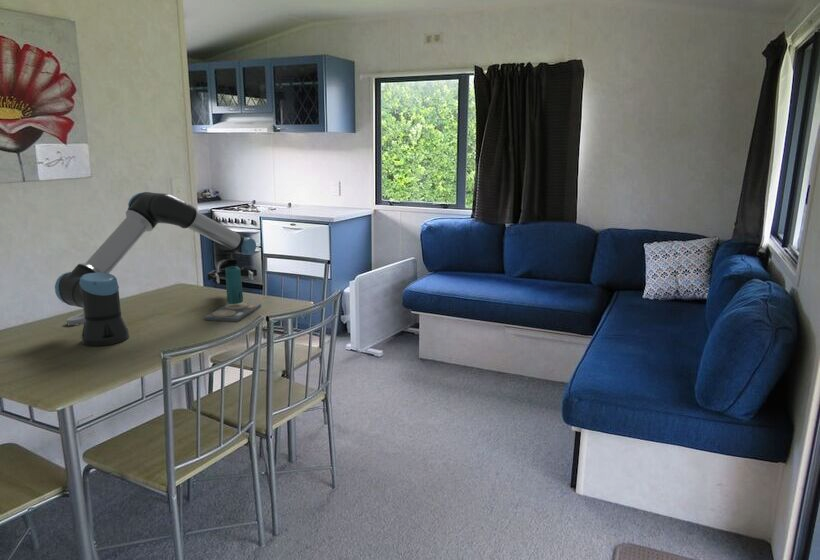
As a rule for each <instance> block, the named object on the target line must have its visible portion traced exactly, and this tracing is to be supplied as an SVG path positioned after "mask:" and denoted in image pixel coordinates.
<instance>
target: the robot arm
mask: <svg viewBox="0 0 820 560" xmlns="http://www.w3.org/2000/svg"><path fill="white" fill-rule="evenodd" d="M125 217H126V218H125V219H124V220H123V221H122V222H120V224H119V225H118V226H117V227H116V228H115V230H114V231H113V232H112V233H111V234H110V235H109V236H108V237H107V238H106V239H105V241H103V243H102V244H101V245H100V246H99V247H98V248H97V249H96V251H94V253H93V254H92V255H91V256H90V257H89V258H88V260H87V261H86V262H84V263H78V264H77V265H76V266H75V267H74V268H73V269H72V270H71V271H68V272H65V273H62V274H61V275H60V276H59V277H58V278H57V279H56V281H55V285H54V290H55V295H56V297H57V298H58V300H60V301H61V302H62V303H64V304H65V305H68V306H71V307H72V306H73V307H78V308H83V313H84V317H85V323H83V328H82V333H81V343H82V344H83V345H84V346H88V347H102V346H110V345H115V344H118V343H122V342H124V341H125V340H128V339H129V338H130V330H129V329H128V327H127V325H126V323H125V321H124V318H123V317H122V312H121V311H122V309H121V300H120V291H119V288H120V286H119V283H118V278H117V277H116V276H115V275H114V274H111V272H112V271H113V270H114V269H115V267H116V266H117V265H119V263H120V262H121V261H122V259H123V258H124V257H125V256H126V255H127V254H128V252H129V251H130V250H131V249H132V248H133V246H135V244H136V243H137V242H138V241H139V240H140V238H142V236H143V235H144V234H145V233H146V232H152V231H153V230H154V228H156V226H157V225H158V224H167V225H174V226H177V227H179V228H182V229H189V230H191V231H194V232H196V233H198V234H200V235H202V236H204V237H206V238H207V239H209V240H212V241H213V247H214V248H213V249H214V268H213V269H212V271H210V272H208V273H207V274H206V276H207V280H208V281H211V280H212V282H213V283H214V282H216V283H217V284H220V283H221V281H220V278H224V279H226V275H225V269H226V268H227V267H229V266H237V264H234V265H228V264H227V259H232V258H233V254H240V255H243V256H244V255H245V256H250V255H253V254H254V253H255V251H256V249H257V242H256V240H255V239H254V238H252V237H248V236H247V237H245V236H243V235H242V234H239V233H238V232H236V231H234V230H232V229H230V228H228V227H226V226H225V225H223V224H221V223H219V222H217V221H216V220H214V219H212V218H210V217H208V216H206V215H204V214H202V213H201V212H199V211H198V210H197V208H196V207H195V206H194V205H192V204H190V203H187V202H186V201H184V200H183V199H181V198H179V197H176V196H174V195H172V194H169V193H163V192H150V191H144V192H138V193H136V194H135V195H133V196H131V198H130V199H129V201H128V203H127V210H126V211H125ZM215 268H216V269H215ZM240 269H241V270H240V272H241V276H247V277H248V278H249V279H250V280H251V281H253V280H254V279H255V278H254V277H256V276H258V272H257V269H256V268H249V267H246V266H242V267H241V268H240Z"/></svg>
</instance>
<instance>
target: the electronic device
mask: <svg viewBox="0 0 820 560" xmlns="http://www.w3.org/2000/svg"><path fill="white" fill-rule="evenodd" d="M65 322H66V325H67V324H69V325H75V324H79V323H82V324H84V323H83V322H85V317H84V312H82V313H79V314H76V315H73V316H70V317H67V319H66V321H65ZM69 325H68V326H69ZM75 326H76V325H75Z"/></svg>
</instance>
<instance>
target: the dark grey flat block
mask: <svg viewBox="0 0 820 560" xmlns="http://www.w3.org/2000/svg"><path fill="white" fill-rule="evenodd" d="M261 307H262V304H261V303H250V302H249V303H246V302H242V303H238V304H229V303H228V302H227V304H225V305H223V306H221V307H220V308H218V309H217V310H215V311H213V312H211V313H209V314H207V315H206V316H204V321H216V320H221V322H236V321H238V322H240V321H241V320H242V318H243V319H244V318H245V316H246V317H247V316H249V315H251V314H252V313H253V311H254V312H255V311H257V310H258V309H260V308H261ZM256 309H257V310H256ZM251 312H252V313H251ZM248 314H249V315H248ZM239 320H240V321H239Z"/></svg>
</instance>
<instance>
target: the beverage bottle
mask: <svg viewBox="0 0 820 560" xmlns="http://www.w3.org/2000/svg"><path fill="white" fill-rule="evenodd" d="M237 260H238V259H237V258H233V257H232V259H227V264H228V265H234V264H236V266H229V267H227V268H226V269H225V275H226V278H225V284H226V287H225V288H226V301H227V304H228V303H229V304H238V303H244V302H243V301H244V293H243V284H242V282H243V281H242V275H241V272H240V270H241V269H242V268H241V267H239V266H237V264H238V261H237Z"/></svg>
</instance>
